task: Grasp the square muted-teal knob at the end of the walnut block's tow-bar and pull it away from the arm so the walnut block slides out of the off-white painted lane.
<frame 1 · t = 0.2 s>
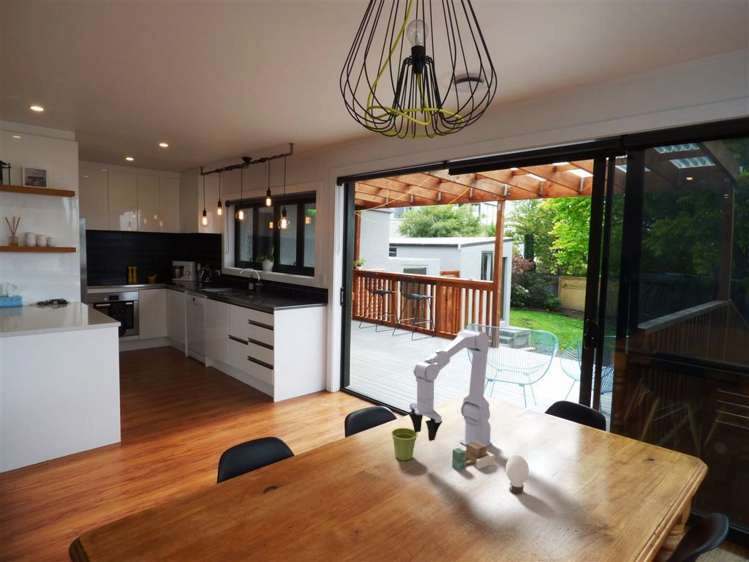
hand: (424, 435, 151), 10 cm above the table, fingers open, 7 cm apart
tethered block: (476, 461, 154), on the table
plant pot: (404, 457, 157), on the table
light bulb: (516, 491, 135), on the table
shelf lane: (476, 461, 154), on the table
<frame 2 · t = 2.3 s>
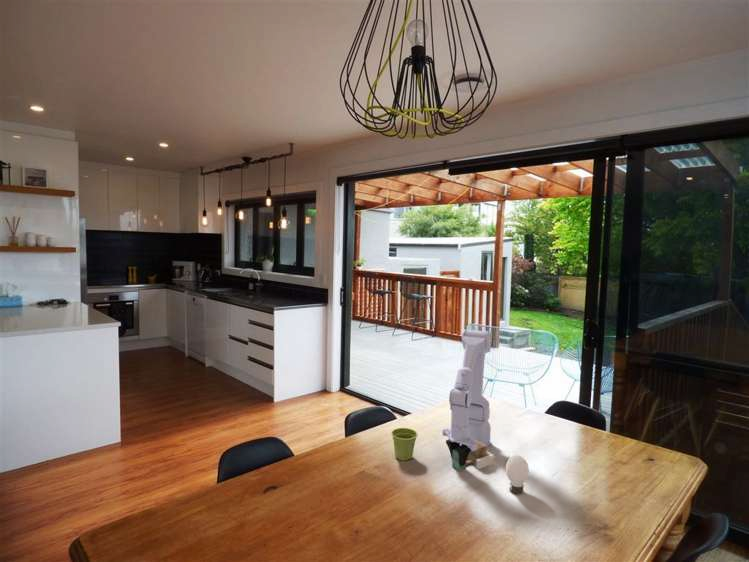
hand: (458, 463, 149), 2 cm above the table, fingers closed on tethered block, 3 cm apart
tethered block: (476, 461, 154), on the table, touching gripper
everything else where it was.
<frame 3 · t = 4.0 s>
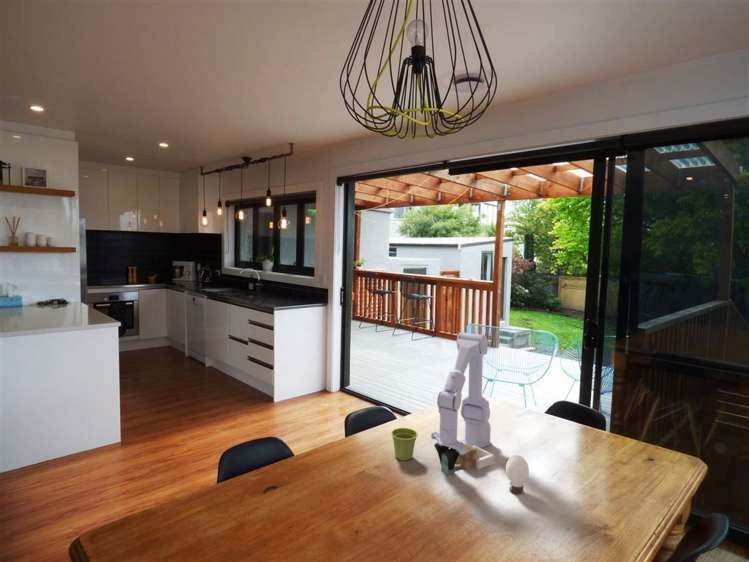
hand: (447, 466, 146), 2 cm above the table, fingers closed on tethered block, 3 cm apart
tethered block: (466, 464, 151), on the table, touching gripper
everything else where it was.
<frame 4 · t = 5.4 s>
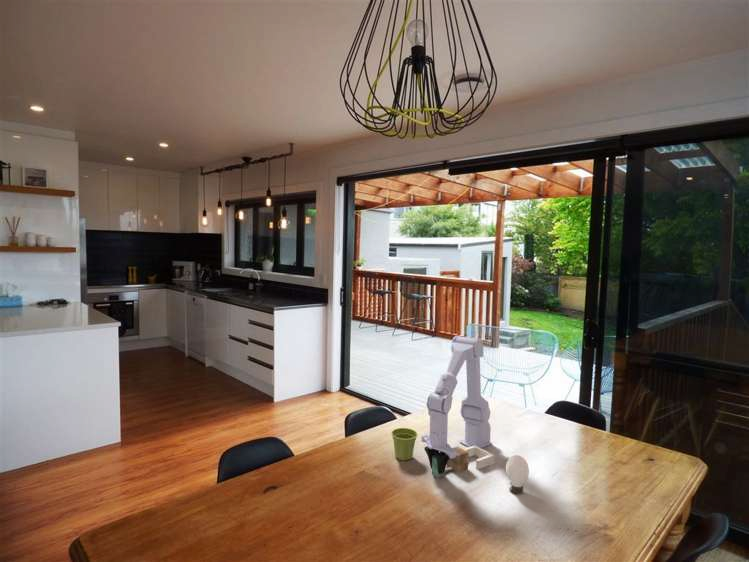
hand: (437, 470, 144), 2 cm above the table, fingers closed on tethered block, 3 cm apart
tethered block: (457, 468, 149), on the table, touching gripper
everything else where it was.
when the fingers open (2 cm above the table, at t = 6.1 s): tethered block stays where it is, on the table.
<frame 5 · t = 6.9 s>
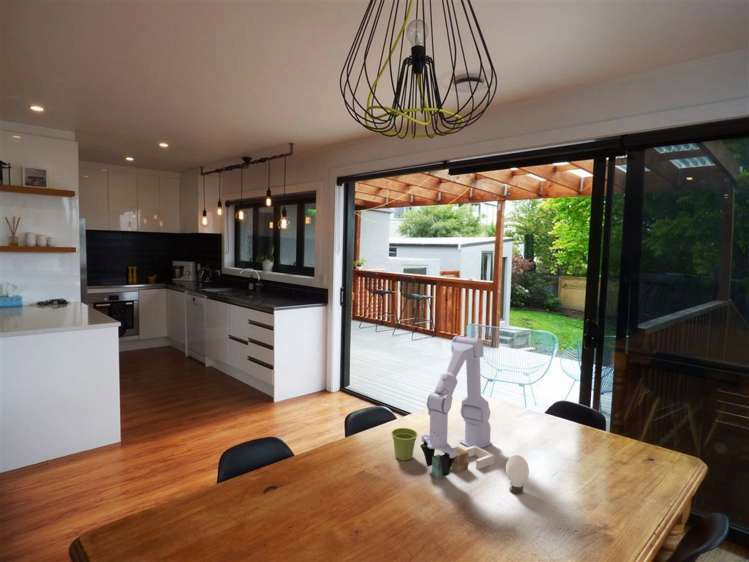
hand: (437, 470, 144), 2 cm above the table, fingers open, 7 cm apart
tethered block: (457, 468, 149), on the table
everything else where it was.
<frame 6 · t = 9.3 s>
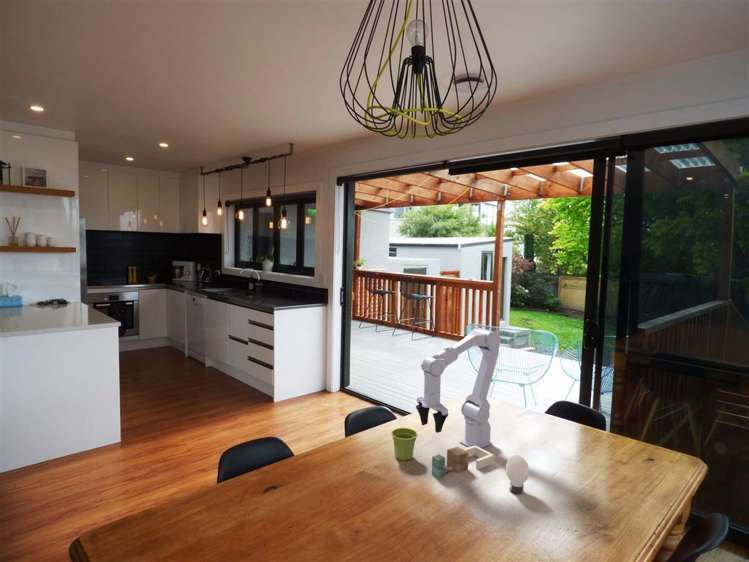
hand: (431, 428, 157), 10 cm above the table, fingers open, 7 cm apart
nothing on the table moved.
at the end: tethered block inside the target area (4.6 cm from its centre), on the table; tethered block tilted 0°; the gripper is holding nothing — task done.
